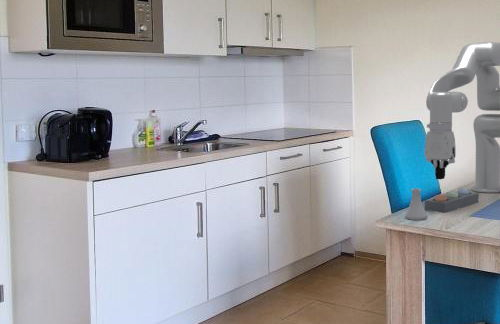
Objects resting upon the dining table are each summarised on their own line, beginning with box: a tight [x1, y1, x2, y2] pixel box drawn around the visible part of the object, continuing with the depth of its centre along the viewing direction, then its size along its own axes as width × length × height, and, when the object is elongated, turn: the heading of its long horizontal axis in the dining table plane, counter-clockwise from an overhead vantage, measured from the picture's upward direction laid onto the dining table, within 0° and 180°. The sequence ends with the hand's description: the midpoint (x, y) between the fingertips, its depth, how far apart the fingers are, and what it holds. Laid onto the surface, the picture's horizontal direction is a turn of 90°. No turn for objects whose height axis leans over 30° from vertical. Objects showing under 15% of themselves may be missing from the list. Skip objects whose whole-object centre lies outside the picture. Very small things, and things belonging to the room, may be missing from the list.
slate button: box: [457, 188, 470, 195], centre depth 233 cm, size 4×4×3 cm
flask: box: [405, 188, 428, 221], centre depth 210 cm, size 7×7×10 cm
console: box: [424, 190, 480, 213], centre depth 228 cm, size 24×8×4 cm, turn 132°
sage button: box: [446, 191, 458, 198], centre depth 228 cm, size 4×4×3 cm
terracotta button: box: [434, 194, 447, 202], centre depth 222 cm, size 4×4×3 cm
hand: (440, 178), depth 221 cm, fingers closed
